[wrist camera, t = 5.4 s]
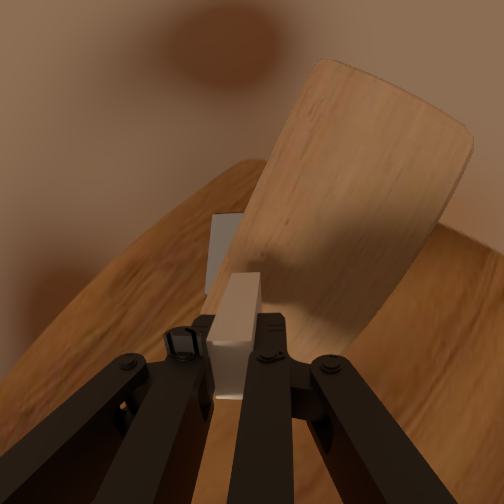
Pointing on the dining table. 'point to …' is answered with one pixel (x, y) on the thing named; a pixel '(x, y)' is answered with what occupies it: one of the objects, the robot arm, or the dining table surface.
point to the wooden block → (344, 205)
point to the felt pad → (220, 243)
